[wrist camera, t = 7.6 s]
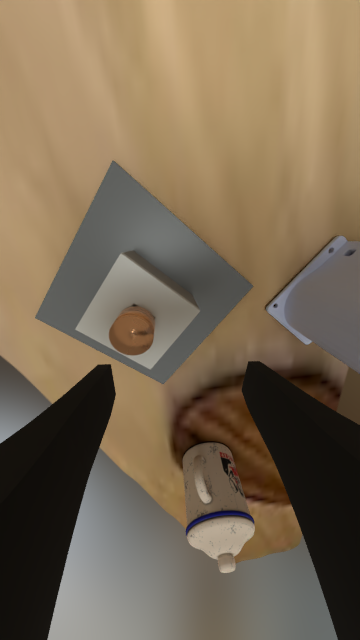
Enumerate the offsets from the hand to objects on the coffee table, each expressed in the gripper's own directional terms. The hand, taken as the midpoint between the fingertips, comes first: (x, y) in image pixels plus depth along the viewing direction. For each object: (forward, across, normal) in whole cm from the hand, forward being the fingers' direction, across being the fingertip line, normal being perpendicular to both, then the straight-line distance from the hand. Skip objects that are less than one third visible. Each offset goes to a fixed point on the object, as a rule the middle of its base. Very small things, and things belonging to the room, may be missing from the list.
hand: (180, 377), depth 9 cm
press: (+10, +3, -1) cm, 11 cm away
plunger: (+9, +3, -1) cm, 9 cm away
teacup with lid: (+11, -6, +26) cm, 29 cm away
